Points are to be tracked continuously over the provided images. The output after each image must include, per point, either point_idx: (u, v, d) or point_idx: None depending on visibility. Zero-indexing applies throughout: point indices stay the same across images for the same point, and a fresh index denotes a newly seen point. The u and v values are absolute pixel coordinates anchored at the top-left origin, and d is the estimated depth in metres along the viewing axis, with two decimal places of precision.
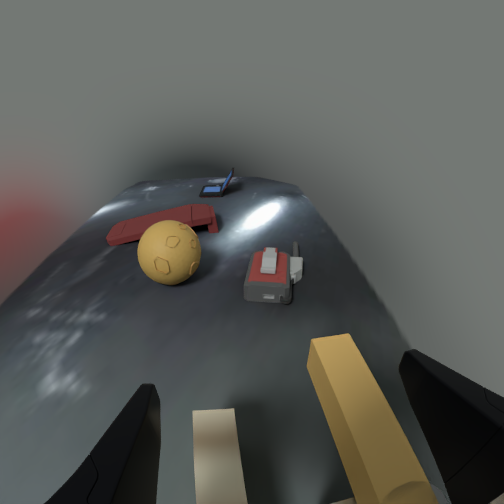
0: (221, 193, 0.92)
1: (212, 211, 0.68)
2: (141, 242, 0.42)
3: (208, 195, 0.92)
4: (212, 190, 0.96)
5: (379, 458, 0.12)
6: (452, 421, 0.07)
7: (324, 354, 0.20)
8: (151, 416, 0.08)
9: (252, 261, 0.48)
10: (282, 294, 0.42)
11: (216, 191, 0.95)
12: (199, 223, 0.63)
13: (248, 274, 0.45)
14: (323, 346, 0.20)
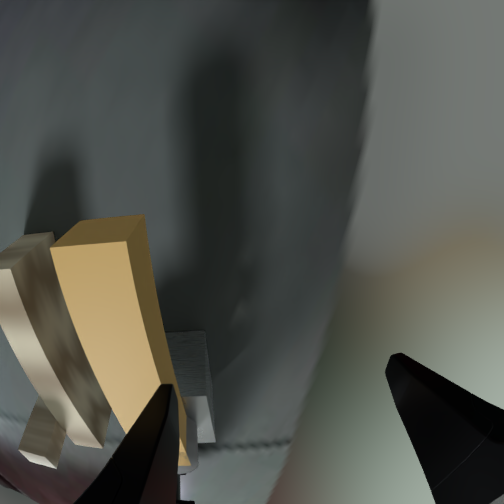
0: None
1: None
2: None
3: None
4: None
5: None
6: (438, 428, 0.07)
7: (72, 292, 0.09)
8: (171, 416, 0.08)
9: None
10: None
11: None
12: None
13: None
14: (70, 271, 0.09)
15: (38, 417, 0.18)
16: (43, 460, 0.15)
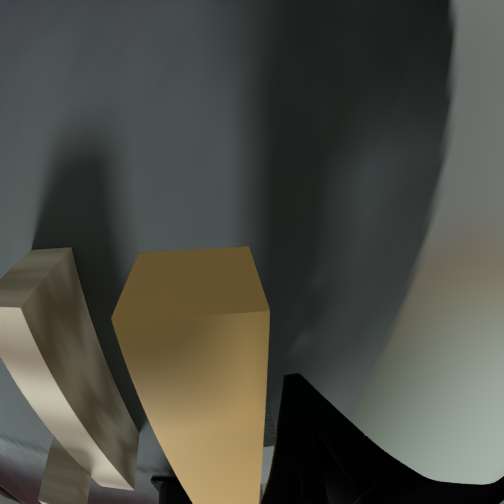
0: None
1: None
2: None
3: None
4: None
5: (212, 500, 0.10)
6: (321, 467, 0.06)
7: (151, 382, 0.06)
8: None
9: None
10: None
11: None
12: None
13: None
14: (151, 354, 0.06)
15: (57, 461, 0.14)
16: None
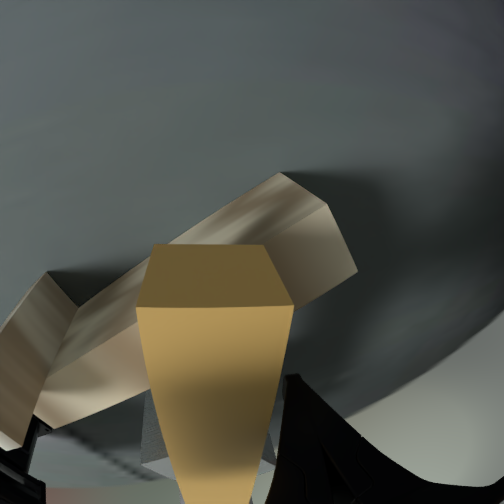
0: None
1: None
2: None
3: None
4: None
5: (204, 497, 0.10)
6: None
7: (167, 374, 0.06)
8: None
9: None
10: None
11: None
12: None
13: None
14: (172, 345, 0.06)
15: (14, 351, 0.10)
16: (1, 439, 0.07)
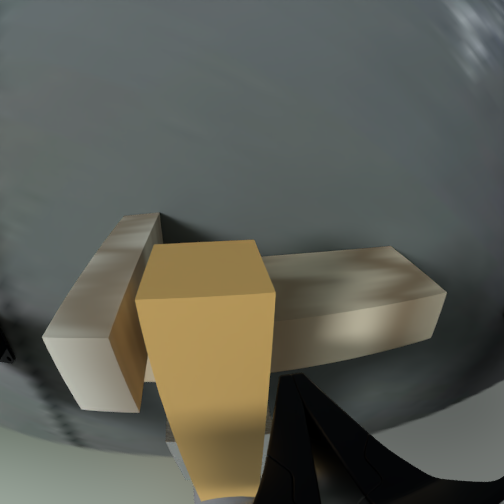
0: None
1: None
2: None
3: None
4: None
5: (214, 485, 0.10)
6: (326, 466, 0.06)
7: (166, 360, 0.07)
8: None
9: None
10: None
11: None
12: None
13: None
14: (169, 333, 0.06)
15: None
16: (105, 397, 0.07)
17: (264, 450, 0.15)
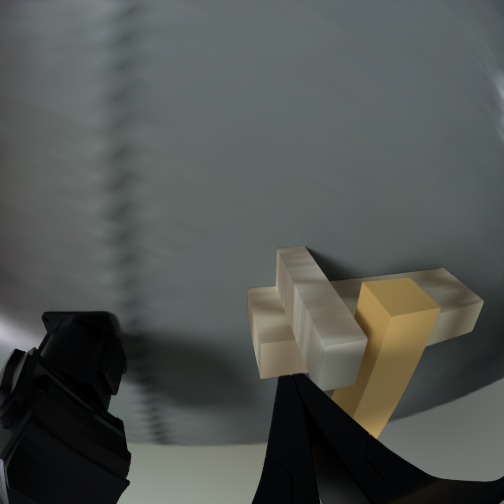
0: None
1: None
2: None
3: None
4: None
5: None
6: (326, 466, 0.06)
7: (389, 346, 0.12)
8: None
9: None
10: None
11: None
12: None
13: None
14: (396, 331, 0.12)
15: None
16: (340, 378, 0.13)
17: None
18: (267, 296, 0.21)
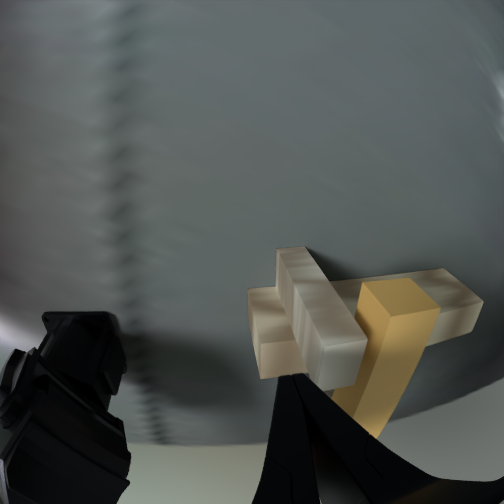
0: None
1: None
2: None
3: None
4: None
5: None
6: (326, 466, 0.06)
7: (388, 347, 0.12)
8: None
9: None
10: None
11: None
12: None
13: None
14: (396, 331, 0.12)
15: None
16: (340, 378, 0.13)
17: None
18: (267, 296, 0.21)
